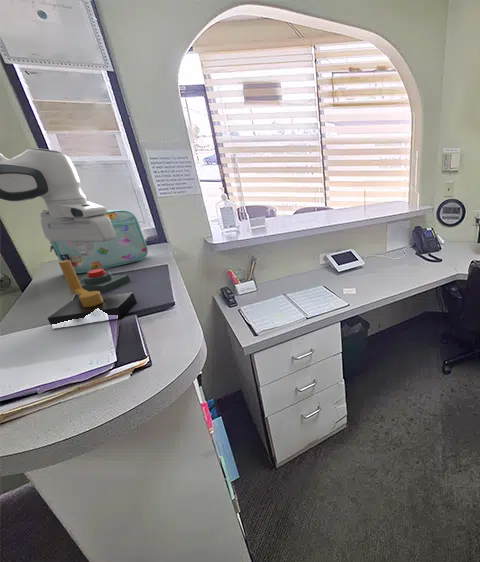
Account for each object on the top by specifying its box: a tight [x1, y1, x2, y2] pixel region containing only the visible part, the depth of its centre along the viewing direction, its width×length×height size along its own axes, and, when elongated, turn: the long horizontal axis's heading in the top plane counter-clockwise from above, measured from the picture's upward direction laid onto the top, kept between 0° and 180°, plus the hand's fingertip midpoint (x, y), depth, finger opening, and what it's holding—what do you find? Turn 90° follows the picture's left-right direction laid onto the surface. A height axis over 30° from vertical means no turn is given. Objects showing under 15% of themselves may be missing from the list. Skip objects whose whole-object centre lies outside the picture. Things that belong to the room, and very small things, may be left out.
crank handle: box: [58, 260, 103, 307], centre depth 78 cm, size 12×4×10 cm, turn 58°
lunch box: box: [49, 209, 149, 274], centre depth 114 cm, size 27×10×21 cm, turn 136°
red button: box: [86, 269, 106, 278], centre depth 97 cm, size 4×4×2 cm
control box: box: [67, 270, 131, 293], centre depth 98 cm, size 12×9×4 cm
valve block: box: [47, 291, 138, 326], centre depth 79 cm, size 14×10×3 cm
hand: (87, 255), depth 94 cm, fingers closed
